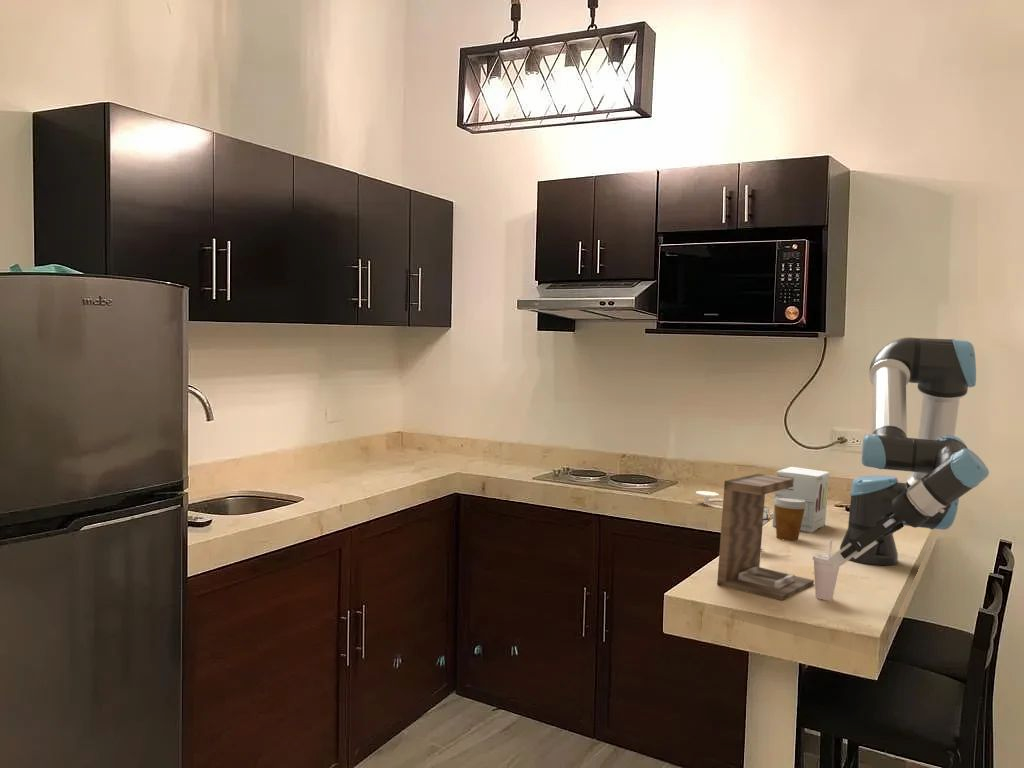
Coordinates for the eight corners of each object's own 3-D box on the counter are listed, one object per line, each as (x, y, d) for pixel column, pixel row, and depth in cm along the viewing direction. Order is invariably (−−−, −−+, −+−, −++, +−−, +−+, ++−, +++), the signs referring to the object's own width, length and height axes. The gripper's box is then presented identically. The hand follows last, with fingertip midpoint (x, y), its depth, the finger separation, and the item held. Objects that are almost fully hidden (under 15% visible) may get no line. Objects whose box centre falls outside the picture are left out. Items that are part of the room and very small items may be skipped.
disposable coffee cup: (807, 538, 265) (810, 499, 264) (798, 543, 257) (801, 503, 256) (776, 533, 270) (779, 495, 270) (766, 538, 262) (769, 498, 262)
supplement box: (813, 533, 274) (818, 476, 273) (771, 526, 281) (775, 470, 280) (826, 525, 288) (830, 471, 287) (786, 518, 295) (790, 465, 294)
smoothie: (841, 603, 198) (846, 542, 197) (811, 600, 199) (816, 540, 198) (835, 595, 204) (840, 536, 203) (807, 592, 205) (811, 534, 205)
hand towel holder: (759, 500, 305) (701, 497, 304) (758, 512, 305) (700, 509, 305) (745, 491, 322) (690, 488, 321) (744, 503, 322) (689, 499, 321)
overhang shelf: (751, 570, 223) (758, 473, 222) (813, 584, 213) (821, 483, 212) (717, 584, 208) (724, 480, 206) (782, 600, 198) (790, 491, 196)
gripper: (915, 525, 177) (835, 582, 187) (943, 511, 196) (869, 563, 206) (890, 495, 180) (812, 553, 190) (920, 484, 199) (848, 537, 209)
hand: (842, 558), depth 198 cm, fingers open, 13 cm apart
